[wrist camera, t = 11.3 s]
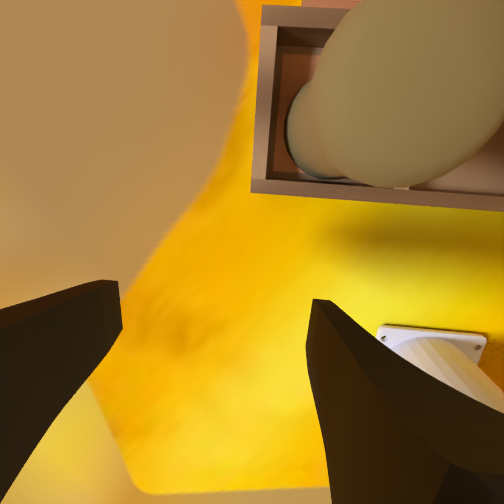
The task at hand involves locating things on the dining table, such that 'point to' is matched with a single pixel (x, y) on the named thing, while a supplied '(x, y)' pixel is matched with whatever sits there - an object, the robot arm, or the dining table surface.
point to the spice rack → (301, 72)
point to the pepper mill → (401, 92)
